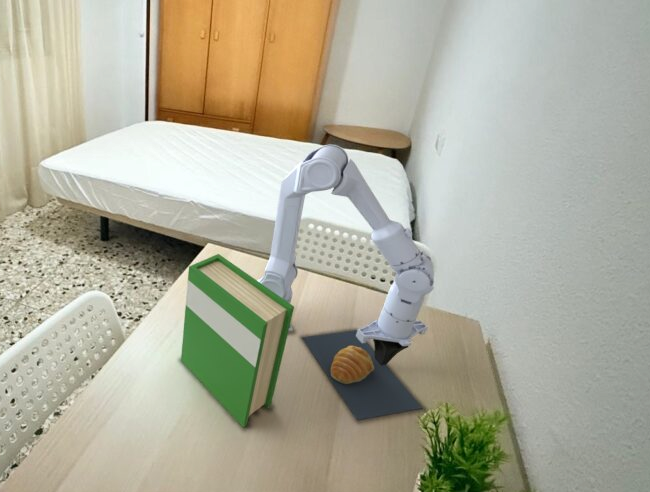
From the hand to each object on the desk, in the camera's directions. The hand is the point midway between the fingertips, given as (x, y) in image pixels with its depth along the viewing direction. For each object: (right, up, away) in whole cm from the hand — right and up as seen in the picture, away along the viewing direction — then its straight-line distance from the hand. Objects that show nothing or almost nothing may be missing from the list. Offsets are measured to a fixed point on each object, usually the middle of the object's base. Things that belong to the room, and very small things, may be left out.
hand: (380, 361), depth 84 cm
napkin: (-5, -2, 0) cm, 5 cm away
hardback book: (-33, -3, -4) cm, 34 cm away
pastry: (-7, -2, -1) cm, 7 cm away
